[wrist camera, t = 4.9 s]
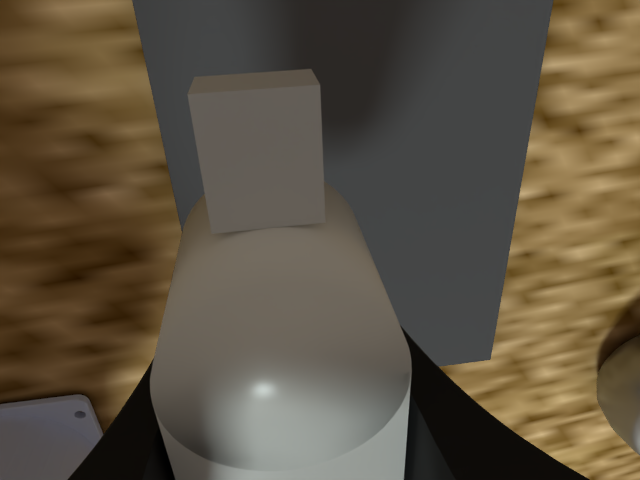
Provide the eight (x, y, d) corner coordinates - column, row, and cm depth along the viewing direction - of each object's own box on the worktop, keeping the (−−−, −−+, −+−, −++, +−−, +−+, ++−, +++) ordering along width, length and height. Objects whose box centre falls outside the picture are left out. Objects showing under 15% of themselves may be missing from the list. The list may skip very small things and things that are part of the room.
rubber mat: (486, 353, 26) (490, 359, 26) (217, 387, 25) (217, 395, 24) (551, -40, 17) (559, -39, 17) (132, -16, 16) (129, -15, 15)
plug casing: (360, 432, 16) (396, 583, 12) (223, 451, 16) (216, 614, 12) (360, 48, 10) (430, 108, 6) (140, 63, 10) (71, 136, 6)
